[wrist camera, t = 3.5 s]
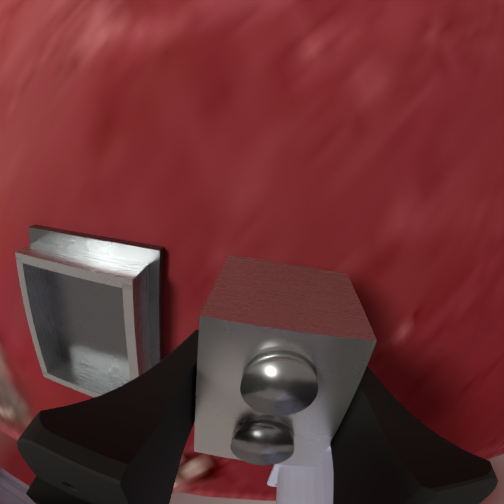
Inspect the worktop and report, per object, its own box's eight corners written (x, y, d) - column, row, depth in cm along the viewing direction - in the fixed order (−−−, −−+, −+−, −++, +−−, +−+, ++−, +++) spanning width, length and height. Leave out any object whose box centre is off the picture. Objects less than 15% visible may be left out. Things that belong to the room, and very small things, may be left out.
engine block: (347, 273, 12) (381, 352, 7) (311, 389, 14) (317, 477, 9) (228, 254, 12) (194, 326, 7) (216, 375, 14) (191, 461, 9)
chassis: (163, 246, 17) (144, 265, 15) (164, 397, 21) (153, 423, 19) (34, 224, 18) (7, 236, 15) (57, 362, 22) (40, 381, 19)
